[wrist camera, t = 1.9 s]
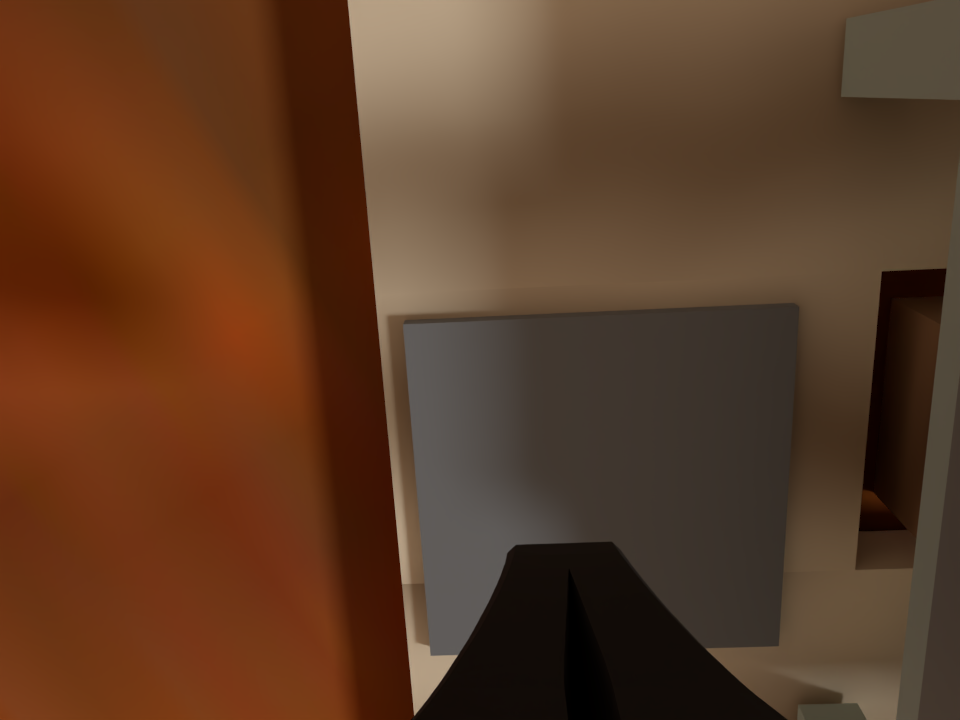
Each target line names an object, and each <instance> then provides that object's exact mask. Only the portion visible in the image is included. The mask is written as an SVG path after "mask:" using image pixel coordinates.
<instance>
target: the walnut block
mask: <svg viewBox="0 0 960 720" xmlns="http://www.w3.org/2000/svg"><path fill="white" fill-rule="evenodd" d="M943 298H944V296H928V297H906V298H891V309H890V319H889V330H888V340H887V351H886V362H885V372H884V383H883V394H882V404H881V415H880V426H879V436H878V447H877V458H876V468H875V479H874V490H873V492H874V493H875V494H876V495H877V497H878V498H879V499H880V500H881V501H882V502H883V503H884V504H885V505H886V506H887V508H888V509H889V510H890V511H891V512H892V513H893V514H894V515H895V516H896V517H897V519H898V520H899V521H900V522H901V523H902V524H903V525H904V526H905V527H906V528H907V530H908V531H909V532H910V533H911V534H912V535H913V536H914V537H915V538H917V529H918V520H919V511H920V502H921V493H922V485H923V476H924V467H925V458H926V449H927V440H928V431H929V422H930V413H931V405H932V396H933V387H934V378H935V369H936V360H937V351H938V342H939V333H940V325H941V316H942V307H943Z"/></svg>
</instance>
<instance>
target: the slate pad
mask: <svg viewBox="0 0 960 720" xmlns="http://www.w3.org/2000/svg"><path fill="white" fill-rule="evenodd" d="M798 322H799V306H798V305H796V304H795V303H777V304H755V305H732V306H710V307H688V308H665V309H643V310H620V311H598V312H576V313H553V314H531V315H508V316H486V317H464V318H441V319H419V320H405V321H404V323H403V332H404V344H405V356H406V368H407V379H408V391H409V403H410V415H411V427H412V439H413V451H414V463H415V475H416V487H417V499H418V511H419V523H420V535H421V546H422V558H423V570H424V582H425V594H426V606H427V618H428V630H429V642H430V654H431V656H441V655H458V654H459V653H460V651H461V650H462V648H463V647H464V645H465V644H466V642H467V640H468V639H469V637H470V635H471V634H472V632H473V630H474V628H475V626H476V624H477V623H478V621H479V619H480V617H481V615H482V613H483V612H484V610H485V608H486V606H487V604H488V602H489V600H490V598H491V596H492V594H493V592H494V589H495V587H496V585H497V583H498V580H499V578H500V576H501V573H502V570H503V567H504V564H505V561H506V556H507V553H508V552H509V551H510V550H511V549H512V548H513V547H514V546H515V545H522V544H552V543H582V542H613V543H614V544H615V545H616V546H617V547H618V548H619V549H620V550H621V551H622V552H623V554H624V555H625V557H626V558H627V559H628V561H629V562H630V563H631V565H632V566H633V567H634V569H635V570H636V571H637V572H638V574H639V575H640V576H641V577H642V579H643V580H644V581H645V582H646V584H647V585H648V586H649V587H650V588H651V590H652V591H653V592H654V593H655V594H656V596H657V597H658V598H659V599H660V600H661V601H662V603H663V604H664V605H665V606H666V607H667V608H668V609H669V611H670V612H671V613H672V614H673V615H674V616H675V617H676V618H677V619H678V620H679V621H680V622H681V623H682V625H683V626H684V627H685V628H686V629H687V630H688V631H689V632H690V633H691V634H692V635H693V636H694V637H695V639H696V640H697V641H698V642H699V643H700V644H701V645H702V646H703V647H704V648H736V647H772V646H779V635H780V619H781V602H782V586H783V569H784V553H785V536H786V520H787V503H788V487H789V470H790V454H791V437H792V421H793V404H794V388H795V371H796V355H797V338H798Z"/></svg>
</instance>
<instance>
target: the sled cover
mask: <svg viewBox="0 0 960 720" xmlns="http://www.w3.org/2000/svg"><path fill="white" fill-rule="evenodd" d="M841 97H866V98H905V99H943V100H960V0H934V1H929V2H924V3H919V4H914V5H909V6H904V7H899V8H895V9H890V10H885V11H880V12H875V13H870V14H865V15H860V16H856V17H851V18H846V31H845V46H844V60H843V74H842V88H841ZM797 720H867V719H866V717H865V716H864V714H863V712H862V710H861V709H860V707H859V705H858V703H840V704H799V705H798V714H797ZM896 720H960V156H959V165H958V174H957V182H956V191H955V200H954V209H953V218H952V227H951V236H950V245H949V254H948V262H947V271H946V280H945V289H944V298H943V307H942V316H941V325H940V333H939V342H938V351H937V360H936V369H935V378H934V387H933V396H932V405H931V413H930V422H929V431H928V440H927V449H926V458H925V467H924V476H923V485H922V493H921V502H920V511H919V520H918V529H917V538H916V547H915V556H914V564H913V573H912V582H911V591H910V600H909V609H908V618H907V627H906V636H905V644H904V653H903V662H902V671H901V680H900V689H899V698H898V707H897V715H896Z"/></svg>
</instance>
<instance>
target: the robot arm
mask: <svg viewBox="0 0 960 720" xmlns="http://www.w3.org/2000/svg"><path fill="white" fill-rule="evenodd" d="M411 720H788V719H786V718H785V717H784V716H782V715H781V714H780V713H779V712H777V711H776V710H775V709H773V708H772V707H771V706H770V705H768V704H767V703H766V702H764V701H763V700H762V699H761V698H759V697H758V696H757V695H755V694H754V693H753V692H752V691H751V690H749V689H748V688H747V687H746V686H745V685H744V684H743V683H741V682H740V681H739V680H738V679H737V678H736V677H735V676H734V675H733V674H732V673H731V672H730V671H728V670H727V669H726V668H725V667H724V666H723V665H722V664H721V663H720V662H719V661H718V660H717V659H716V658H715V657H714V656H712V655H711V654H710V653H709V652H708V651H707V650H706V649H705V648H704V647H703V646H702V645H701V644H700V643H699V642H698V641H697V640H696V639H695V637H694V636H693V635H692V634H691V633H690V632H689V631H688V630H687V629H686V628H685V627H684V626H683V625H682V623H681V622H680V621H679V620H678V619H677V618H676V617H675V616H674V615H673V614H672V613H671V612H670V611H669V609H668V608H667V607H666V606H665V605H664V604H663V603H662V601H661V600H660V599H659V598H658V597H657V596H656V594H655V593H654V592H653V591H652V590H651V588H650V587H649V586H648V585H647V584H646V582H645V581H644V580H643V579H642V577H641V576H640V575H639V574H638V572H637V571H636V570H635V569H634V567H633V566H632V565H631V563H630V562H629V561H628V559H627V558H626V557H625V555H624V554H623V552H622V551H621V550H620V549H619V548H618V547H617V546H616V545H615V544H614V543H613V542H582V543H552V544H522V545H515V546H514V547H513V548H512V549H511V550H510V551H509V552H508V553H507V556H506V561H505V564H504V567H503V570H502V573H501V576H500V578H499V580H498V583H497V585H496V587H495V589H494V592H493V594H492V596H491V598H490V600H489V602H488V604H487V606H486V608H485V610H484V612H483V613H482V615H481V617H480V619H479V621H478V623H477V624H476V626H475V628H474V630H473V632H472V634H471V635H470V637H469V639H468V640H467V642H466V644H465V645H464V647H463V648H462V650H461V651H460V653H459V654H458V656H457V657H456V659H455V660H454V662H453V663H452V665H451V667H450V668H449V670H448V671H447V673H446V674H445V676H444V677H443V679H442V680H441V682H440V683H439V684H438V686H437V687H436V689H435V690H434V691H433V693H432V694H431V695H430V697H429V698H428V699H427V701H426V702H425V703H424V704H423V706H422V707H421V708H420V710H419V711H418V712H417V713H416V715H415V716H414V717H413V718H412V719H411Z"/></svg>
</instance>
